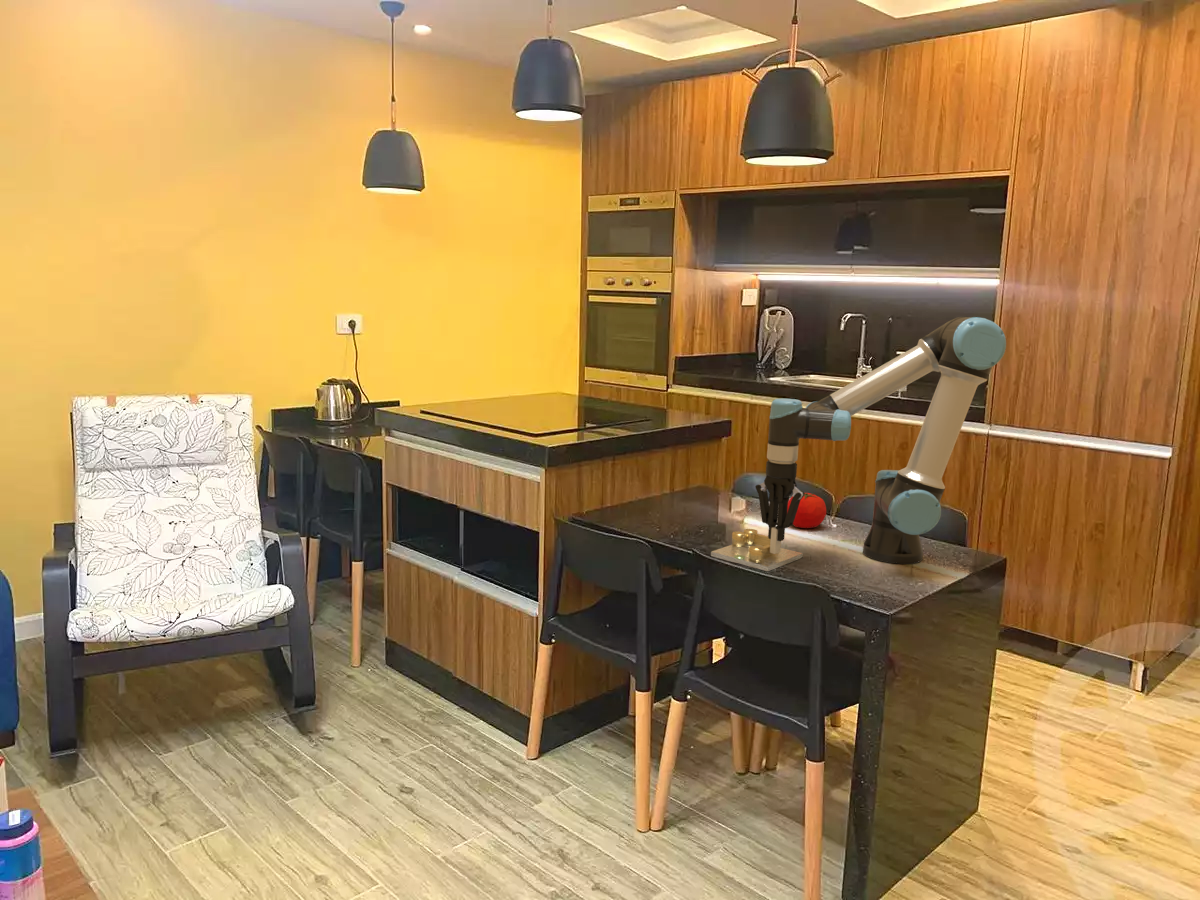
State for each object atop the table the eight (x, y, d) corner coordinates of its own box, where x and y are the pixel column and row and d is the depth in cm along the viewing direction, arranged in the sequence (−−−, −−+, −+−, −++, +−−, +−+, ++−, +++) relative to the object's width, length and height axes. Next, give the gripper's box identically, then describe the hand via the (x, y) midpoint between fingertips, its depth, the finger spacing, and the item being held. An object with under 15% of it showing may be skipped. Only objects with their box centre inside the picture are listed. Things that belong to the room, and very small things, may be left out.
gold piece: (758, 563, 221) (759, 550, 220) (745, 560, 223) (746, 547, 222) (779, 555, 228) (780, 543, 228) (767, 552, 231) (768, 540, 230)
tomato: (794, 519, 271) (796, 486, 270) (830, 526, 265) (833, 492, 263) (778, 527, 262) (780, 493, 260) (815, 534, 255) (818, 499, 254)
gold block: (740, 542, 239) (741, 530, 239) (747, 539, 242) (748, 528, 241) (774, 550, 232) (774, 538, 232) (781, 548, 235) (782, 536, 235)
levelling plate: (802, 557, 232) (803, 541, 231) (767, 571, 219) (768, 554, 218) (745, 543, 243) (746, 527, 242) (709, 556, 230) (710, 539, 230)
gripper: (812, 463, 221) (805, 555, 225) (767, 455, 229) (760, 544, 233) (797, 466, 215) (790, 561, 219) (751, 458, 223) (745, 549, 228)
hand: (775, 552), depth 226 cm, fingers closed
